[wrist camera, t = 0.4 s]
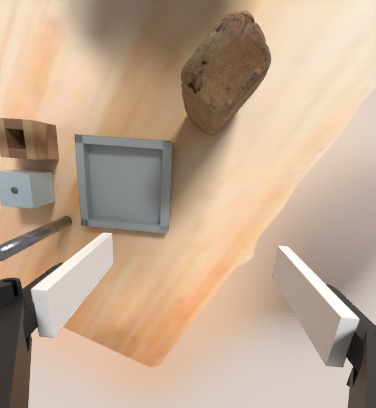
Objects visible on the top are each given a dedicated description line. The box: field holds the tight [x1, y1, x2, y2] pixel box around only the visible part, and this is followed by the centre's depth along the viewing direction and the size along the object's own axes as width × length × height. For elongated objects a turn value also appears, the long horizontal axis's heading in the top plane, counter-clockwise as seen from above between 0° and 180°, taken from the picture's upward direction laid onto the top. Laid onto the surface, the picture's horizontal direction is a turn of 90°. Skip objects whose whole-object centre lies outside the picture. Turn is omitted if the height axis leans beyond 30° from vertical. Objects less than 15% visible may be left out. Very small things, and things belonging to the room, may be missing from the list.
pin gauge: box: [0, 216, 72, 261], centre depth 37 cm, size 2×2×16 cm
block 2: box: [181, 11, 271, 136], centre depth 27 cm, size 11×8×20 cm
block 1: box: [0, 170, 55, 209], centre depth 40 cm, size 7×7×6 cm
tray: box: [75, 134, 173, 234], centre depth 41 cm, size 20×20×2 cm
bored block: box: [0, 118, 59, 160], centre depth 38 cm, size 7×7×6 cm
